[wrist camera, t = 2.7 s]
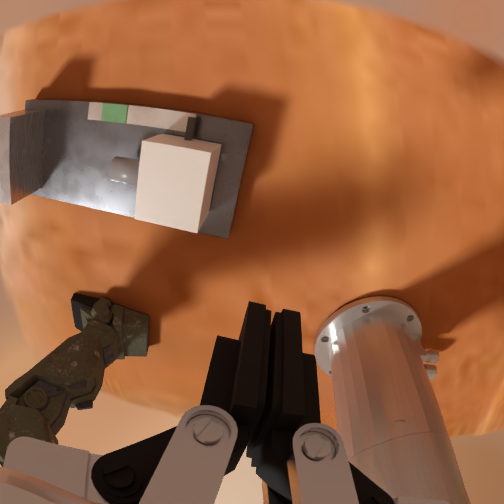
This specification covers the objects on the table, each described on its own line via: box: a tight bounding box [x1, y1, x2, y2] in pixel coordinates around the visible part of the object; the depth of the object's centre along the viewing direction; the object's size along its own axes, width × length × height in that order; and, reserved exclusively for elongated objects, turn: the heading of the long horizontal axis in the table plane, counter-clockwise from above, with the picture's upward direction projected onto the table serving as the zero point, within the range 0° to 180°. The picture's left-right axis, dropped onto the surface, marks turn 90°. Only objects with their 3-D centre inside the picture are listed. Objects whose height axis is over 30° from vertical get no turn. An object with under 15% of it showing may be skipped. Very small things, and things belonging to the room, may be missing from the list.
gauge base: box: [0, 99, 254, 239], centre depth 24 cm, size 23×10×6 cm, turn 78°
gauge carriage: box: [109, 117, 222, 233], centre depth 23 cm, size 8×8×4 cm
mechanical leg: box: [0, 293, 149, 467], centre depth 24 cm, size 14×7×30 cm, turn 78°
